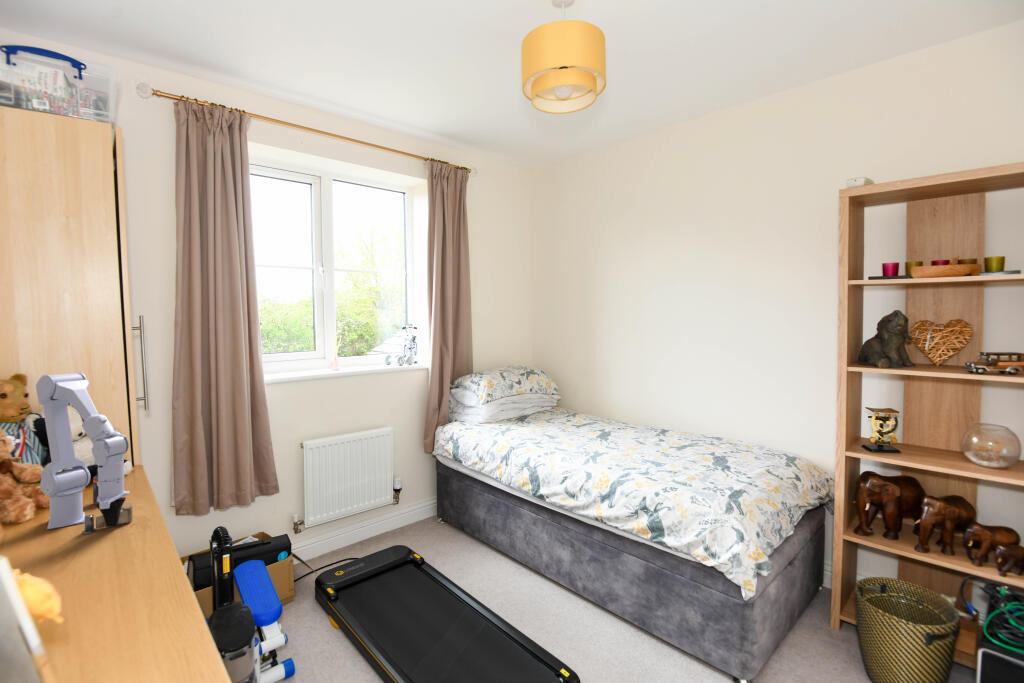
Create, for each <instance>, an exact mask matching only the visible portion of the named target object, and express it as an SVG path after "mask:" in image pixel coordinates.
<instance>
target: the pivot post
mask: <svg viewBox="0 0 1024 683" xmlns="http://www.w3.org/2000/svg"><path fill="white" fill-rule="evenodd" d="M84 521H85V522H84V530H82V532H81V534H82V535H89V534H93V533H95V532H97V531H98V529H96V527H95V517H94V514H88V515H85V517H84Z"/></svg>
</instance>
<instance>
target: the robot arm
mask: <svg viewBox="0 0 1024 683" xmlns="http://www.w3.org/2000/svg"><path fill="white" fill-rule="evenodd" d="M89 387H90V382H89V380H88V378H87V375H85V374H84V373H83V372H81V371H79V372H73V373H72V372H71V373H61V374H60V373H59V374H50V375H49V374H44V375H42V376H41V377H39V379H38V380H37V382H36V383H35V389H36V394H37V402H38V404H39V405H42V410H43V416H44V422H45V430H46V435H47V441H48V448H49V454H50V459H51V462H50V463H49V464H47V465H46V466H45V467H44V468H43V469H42V470H41V471H40V473H41V474H40V476H41V478H40V483H39V486H40V490H41V492H42V493H43V494H44V495H45V496H46V497H49V518H48V524H47V528H46V529H47V530H52V529H57V528H58V529H59V528H63V527H67V526H73V525H78V524H82V523H85V521H84V517H85V516H86V512H85V511H84V502H83V498H84V496H83V493H84V492H83V491H84V490H86V486H88V485H89V483H90V481H91V473H90V470H89V468H88V466H87V463H86V461H85V460H82V459H81V458H78V457H76V454H75V453H76V452H75V448H74V442H73V435H72V428H71V422H70V417H69V412H68V409H69V408H68V406H69V404H71V406H72V407H73V409H74V410H75V411H76V413H78V415H79V416H80V417H81V418H82V419H83V422H82V425H81V427H82V428H83V431H84V432H85V433H86V435H87V436H88V438H89V440H90V441H91V443H92V448H91V453H92V455H93V457H94V463H95V464H96V466H97V469H98V500H99V502H100V503H99V504H98V505H96V506H97V509H98V511H100V513H101V514H103V517H104V519H105V523H106V525H107V527H106V528H110V527H111V528H112V527H116V526H117V525H119V524H118V521H119V516H120V511H121V508H122V506H124V503H125V502H126V500H127V498H126V497H125V496H128V495H130V490H127V491H126V490H125V461H124V460H125V457H124V456H125V454H126V453H127V452H128V451H129V446H130V444H129V440H128V438H127V436H126V435H125V434H122V433H120V432H119V431H116V429H115V428H114V426H113V425H112V423H111V421H109V419H108V418H107V416H106V415H104V414H99V412H98V410H97V408H96V406H95V404H94V402H93V399H92V398H91V396H90V393H89V392H88V391H89V389H90V388H89Z"/></svg>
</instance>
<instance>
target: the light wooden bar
mask: <svg viewBox="0 0 1024 683" xmlns="http://www.w3.org/2000/svg"><path fill="white" fill-rule="evenodd" d="M129 522H130V523H132V521H131V508H130V507H125V508H123V510H121V511H120V516H119V521H118V524H117V525H120V524H121V525H122V524H128V523H129ZM95 528H96V529H97V530H99V529H103V528H108V527H107V525H106V523H105V519H104V517H103V514H102V513H101V514H96V515H95Z"/></svg>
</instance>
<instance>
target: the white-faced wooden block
mask: <svg viewBox="0 0 1024 683" xmlns="http://www.w3.org/2000/svg"><path fill="white" fill-rule="evenodd" d="M125 507H130V508H131V520H132V521H133V504H128V505H122V508H121V510H123V508H125Z"/></svg>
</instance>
